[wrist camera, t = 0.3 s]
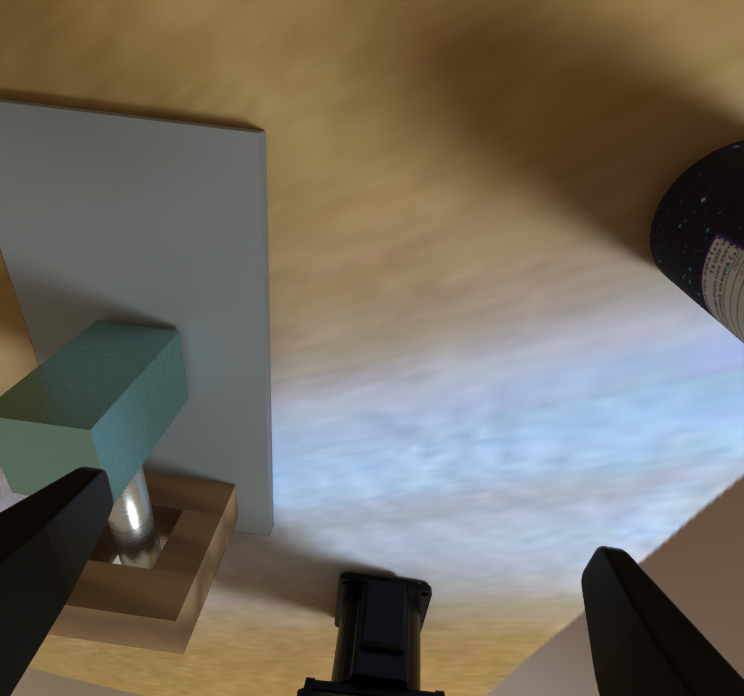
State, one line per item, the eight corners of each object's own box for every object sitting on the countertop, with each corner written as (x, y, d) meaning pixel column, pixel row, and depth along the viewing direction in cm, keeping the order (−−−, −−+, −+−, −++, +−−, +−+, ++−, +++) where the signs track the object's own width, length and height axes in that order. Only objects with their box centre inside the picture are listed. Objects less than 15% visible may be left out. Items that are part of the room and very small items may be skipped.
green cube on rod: (210, 550, 31) (160, 667, 25) (151, 542, 31) (87, 656, 25) (179, 330, 22) (90, 430, 16) (97, 320, 22) (-23, 414, 16)
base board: (273, 525, 31) (270, 536, 30) (96, 501, 31) (89, 510, 30) (265, 130, 18) (259, 133, 17) (-35, 94, 18) (-52, 95, 18)
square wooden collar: (238, 517, 29) (183, 654, 22) (114, 499, 29) (22, 630, 23) (235, 484, 28) (175, 621, 21) (104, 466, 28) (3, 596, 21)
